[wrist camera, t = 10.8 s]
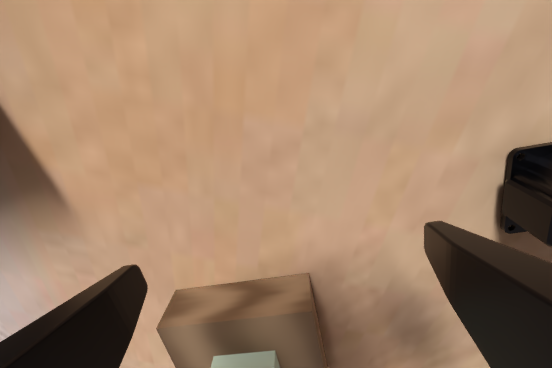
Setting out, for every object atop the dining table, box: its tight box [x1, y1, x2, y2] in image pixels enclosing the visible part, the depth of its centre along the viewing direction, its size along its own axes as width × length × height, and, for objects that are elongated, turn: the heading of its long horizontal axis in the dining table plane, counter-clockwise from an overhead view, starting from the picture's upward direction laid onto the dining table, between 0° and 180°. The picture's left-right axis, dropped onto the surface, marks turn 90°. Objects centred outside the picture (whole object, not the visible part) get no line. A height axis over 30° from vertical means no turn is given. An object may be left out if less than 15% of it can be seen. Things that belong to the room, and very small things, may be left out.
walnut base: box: [156, 273, 327, 368], centre depth 25 cm, size 12×12×4 cm
